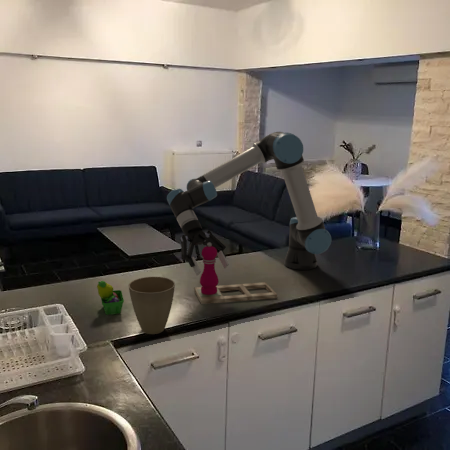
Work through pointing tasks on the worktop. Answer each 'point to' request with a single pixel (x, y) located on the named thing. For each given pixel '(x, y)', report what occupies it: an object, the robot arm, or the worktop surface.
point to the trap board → (242, 287)
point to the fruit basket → (110, 298)
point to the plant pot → (152, 302)
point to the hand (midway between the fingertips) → (213, 270)
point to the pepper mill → (209, 271)
